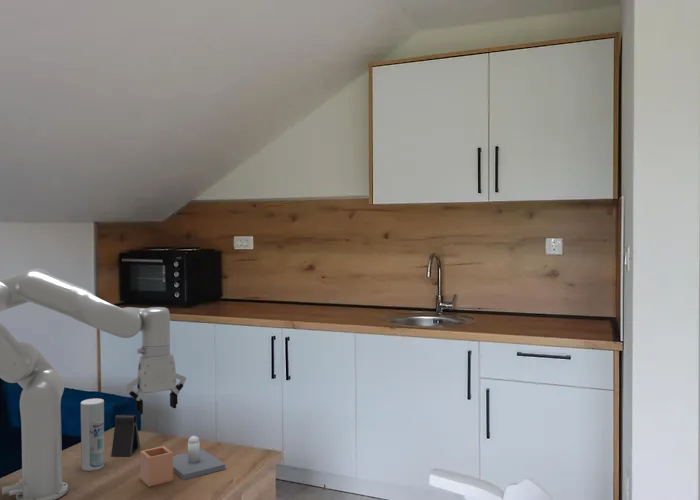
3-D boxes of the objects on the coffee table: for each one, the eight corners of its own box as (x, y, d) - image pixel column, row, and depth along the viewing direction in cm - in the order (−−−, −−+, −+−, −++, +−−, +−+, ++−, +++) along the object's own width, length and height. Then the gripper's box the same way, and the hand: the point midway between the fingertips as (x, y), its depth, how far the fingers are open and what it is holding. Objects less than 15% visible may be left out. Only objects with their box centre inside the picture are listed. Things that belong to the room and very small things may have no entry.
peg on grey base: (183, 479, 171) (183, 448, 171) (163, 463, 184) (163, 433, 184) (225, 469, 179) (225, 438, 179) (203, 453, 192) (202, 425, 192)
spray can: (92, 461, 185) (91, 397, 185) (109, 464, 183) (108, 399, 183) (76, 469, 179) (75, 403, 178) (93, 472, 177) (93, 405, 176)
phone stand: (122, 446, 198) (122, 410, 198) (140, 446, 198) (140, 410, 198) (110, 456, 189) (110, 419, 189) (129, 456, 189) (129, 419, 189)
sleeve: (148, 486, 167) (148, 458, 167) (140, 478, 172) (140, 451, 172) (173, 480, 171) (173, 452, 171) (164, 472, 177) (164, 445, 176)
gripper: (129, 356, 163) (130, 419, 163) (190, 349, 173) (190, 408, 174) (121, 352, 169) (121, 412, 169) (180, 345, 179) (180, 402, 180)
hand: (156, 410), depth 171 cm, fingers open, 9 cm apart
